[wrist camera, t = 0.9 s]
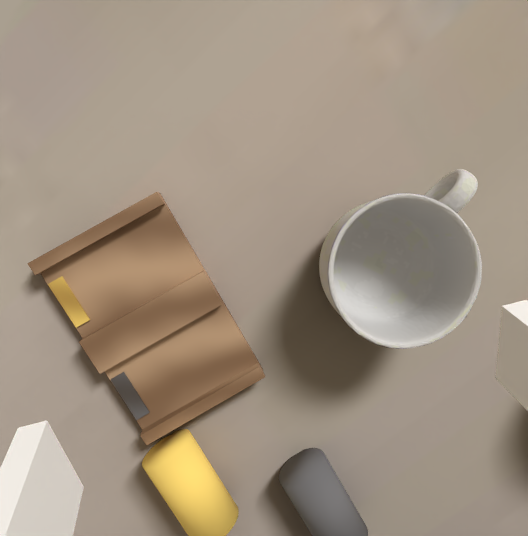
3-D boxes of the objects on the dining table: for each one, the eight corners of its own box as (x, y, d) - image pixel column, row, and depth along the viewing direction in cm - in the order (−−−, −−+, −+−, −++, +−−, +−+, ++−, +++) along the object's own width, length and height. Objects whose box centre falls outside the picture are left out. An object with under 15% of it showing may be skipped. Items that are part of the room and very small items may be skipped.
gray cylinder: (353, 509, 41) (377, 539, 37) (315, 539, 40) (334, 573, 36) (313, 440, 40) (333, 463, 35) (273, 469, 39) (287, 496, 35)
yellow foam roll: (240, 494, 39) (236, 533, 35) (197, 515, 39) (188, 556, 35) (194, 421, 38) (184, 452, 33) (150, 444, 38) (135, 477, 34)
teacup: (363, 347, 39) (400, 381, 31) (280, 258, 37) (297, 270, 29) (478, 238, 39) (545, 244, 31) (401, 144, 37) (451, 125, 29)
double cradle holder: (262, 368, 38) (265, 377, 36) (150, 433, 37) (146, 445, 35) (159, 193, 35) (156, 191, 33) (38, 260, 35) (27, 263, 33)
